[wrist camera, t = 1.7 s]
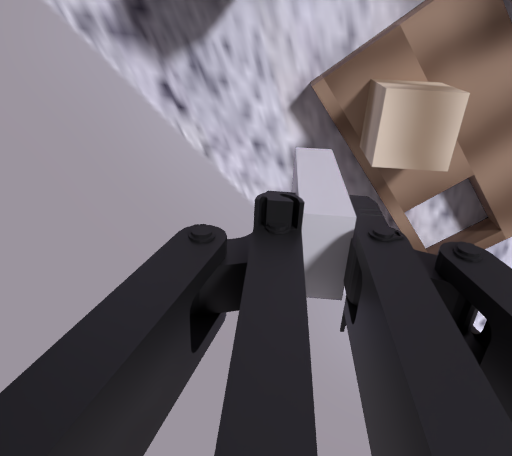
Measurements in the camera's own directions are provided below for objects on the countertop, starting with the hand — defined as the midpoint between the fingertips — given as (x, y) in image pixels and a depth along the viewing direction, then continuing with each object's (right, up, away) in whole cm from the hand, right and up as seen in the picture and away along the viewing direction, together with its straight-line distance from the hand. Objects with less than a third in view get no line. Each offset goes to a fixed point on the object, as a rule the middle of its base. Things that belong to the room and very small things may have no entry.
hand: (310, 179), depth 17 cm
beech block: (+8, +6, +13) cm, 17 cm away
